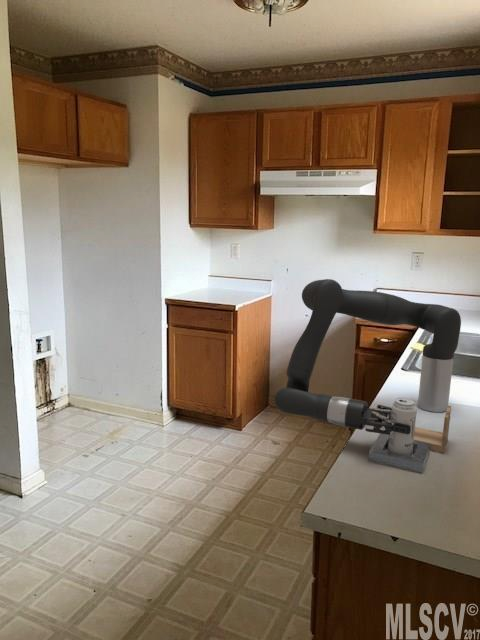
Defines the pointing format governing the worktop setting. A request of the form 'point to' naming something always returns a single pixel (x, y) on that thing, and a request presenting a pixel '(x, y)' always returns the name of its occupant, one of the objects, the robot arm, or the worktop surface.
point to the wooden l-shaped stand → (435, 435)
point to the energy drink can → (403, 414)
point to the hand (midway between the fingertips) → (412, 425)
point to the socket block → (399, 455)
